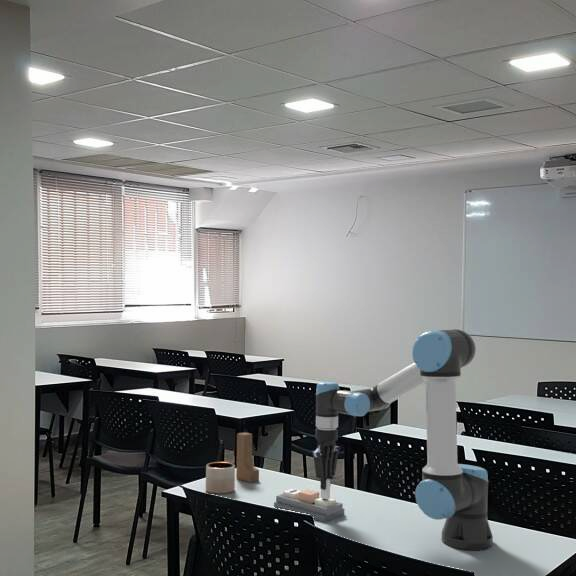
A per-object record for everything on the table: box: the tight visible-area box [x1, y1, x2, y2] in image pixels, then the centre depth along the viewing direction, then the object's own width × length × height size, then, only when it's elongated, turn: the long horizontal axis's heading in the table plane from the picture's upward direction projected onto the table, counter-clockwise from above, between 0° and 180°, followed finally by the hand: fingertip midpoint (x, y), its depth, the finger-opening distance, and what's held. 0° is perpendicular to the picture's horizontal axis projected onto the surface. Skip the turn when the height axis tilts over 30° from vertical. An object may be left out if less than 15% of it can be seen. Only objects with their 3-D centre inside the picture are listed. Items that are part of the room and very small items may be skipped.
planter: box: [205, 461, 236, 495], centre depth 270 cm, size 11×11×10 cm
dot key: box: [315, 497, 337, 508], centre depth 242 cm, size 5×5×3 cm
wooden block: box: [235, 431, 260, 483], centre depth 286 cm, size 9×4×18 cm, turn 44°
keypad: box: [273, 493, 345, 523], centre depth 246 cm, size 22×11×4 cm, turn 50°
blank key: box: [299, 489, 320, 504], centre depth 246 cm, size 5×5×3 cm
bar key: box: [282, 488, 302, 500], centre depth 251 cm, size 5×5×3 cm
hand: (325, 498), depth 242 cm, fingers closed
